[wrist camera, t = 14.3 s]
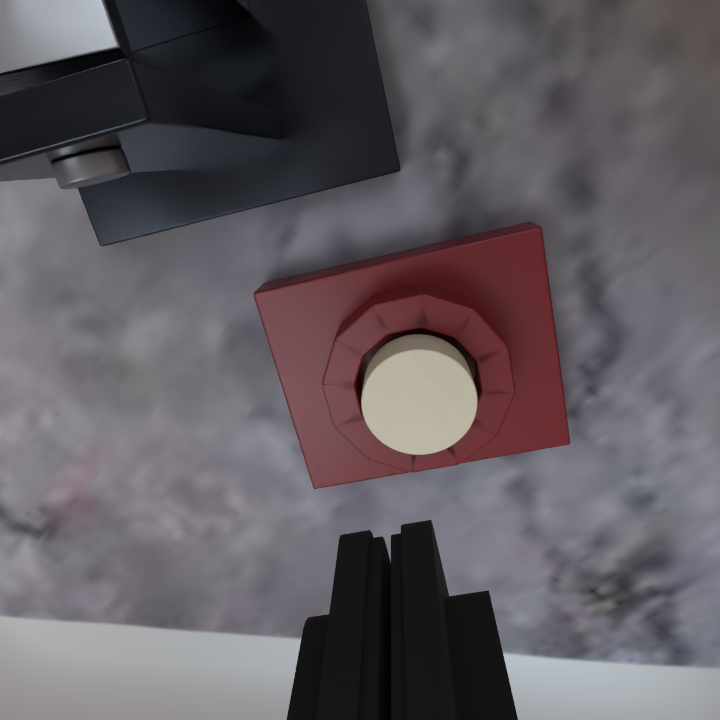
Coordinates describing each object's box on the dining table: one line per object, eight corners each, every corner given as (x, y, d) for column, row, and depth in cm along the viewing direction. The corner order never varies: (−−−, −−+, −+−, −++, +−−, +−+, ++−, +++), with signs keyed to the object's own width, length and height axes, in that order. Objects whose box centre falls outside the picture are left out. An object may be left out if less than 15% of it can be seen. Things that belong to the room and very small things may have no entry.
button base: (318, 469, 26) (307, 514, 23) (262, 283, 23) (239, 304, 20) (559, 426, 24) (584, 467, 21) (531, 220, 22) (554, 232, 18)
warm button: (377, 440, 22) (375, 464, 20) (352, 346, 21) (348, 362, 19) (479, 422, 21) (486, 444, 20) (461, 323, 20) (466, 338, 18)
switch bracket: (114, 242, 23) (-196, 338, 11) (20, -4, 20) (-539, -240, 8) (400, 170, 21) (403, 189, 9) (342, -111, 18) (237, -607, 6)
